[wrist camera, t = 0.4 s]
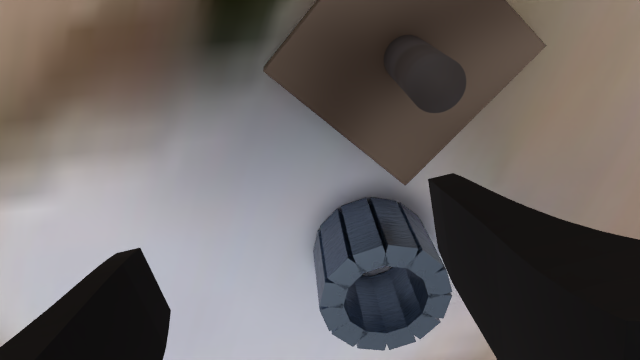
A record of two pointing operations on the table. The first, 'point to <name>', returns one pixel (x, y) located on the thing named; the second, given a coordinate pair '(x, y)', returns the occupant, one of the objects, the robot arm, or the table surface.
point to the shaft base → (381, 104)
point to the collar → (379, 275)
